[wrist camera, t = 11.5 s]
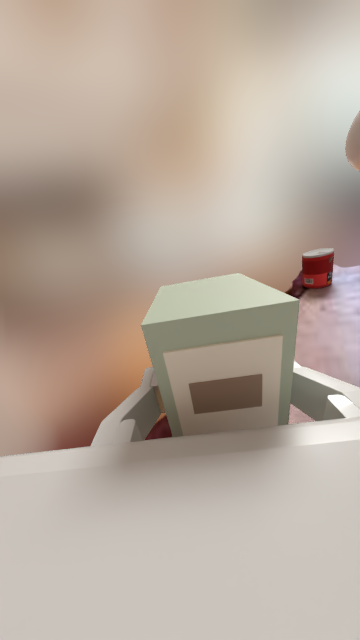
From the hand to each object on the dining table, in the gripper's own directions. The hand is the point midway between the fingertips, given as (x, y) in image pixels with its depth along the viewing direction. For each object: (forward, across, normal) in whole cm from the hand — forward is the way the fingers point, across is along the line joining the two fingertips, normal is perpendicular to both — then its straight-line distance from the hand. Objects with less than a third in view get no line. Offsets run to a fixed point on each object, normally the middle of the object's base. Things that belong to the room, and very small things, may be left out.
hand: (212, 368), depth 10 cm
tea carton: (-1, 0, +7) cm, 7 cm away
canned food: (+52, -44, +13) cm, 70 cm away
